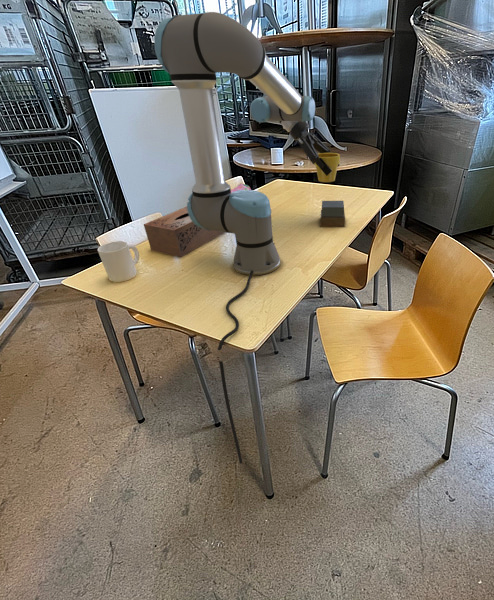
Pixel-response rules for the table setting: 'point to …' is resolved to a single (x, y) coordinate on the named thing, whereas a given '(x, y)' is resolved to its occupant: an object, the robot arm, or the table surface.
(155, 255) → the table surface
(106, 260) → the mug
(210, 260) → the table surface
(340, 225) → the base block
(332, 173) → the flower pot
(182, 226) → the tissue box cover
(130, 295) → the table surface
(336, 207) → the top block
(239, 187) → the pencil case
